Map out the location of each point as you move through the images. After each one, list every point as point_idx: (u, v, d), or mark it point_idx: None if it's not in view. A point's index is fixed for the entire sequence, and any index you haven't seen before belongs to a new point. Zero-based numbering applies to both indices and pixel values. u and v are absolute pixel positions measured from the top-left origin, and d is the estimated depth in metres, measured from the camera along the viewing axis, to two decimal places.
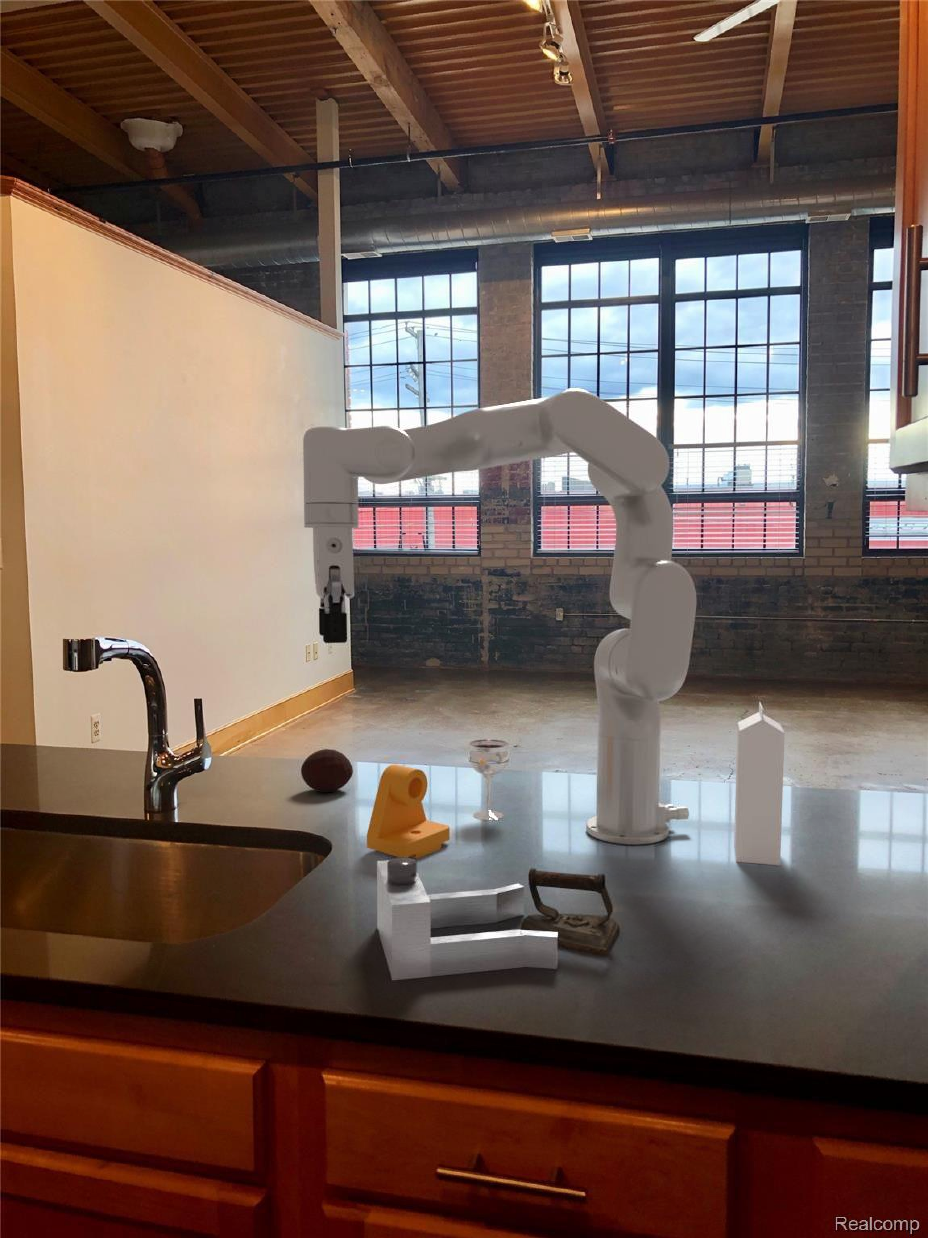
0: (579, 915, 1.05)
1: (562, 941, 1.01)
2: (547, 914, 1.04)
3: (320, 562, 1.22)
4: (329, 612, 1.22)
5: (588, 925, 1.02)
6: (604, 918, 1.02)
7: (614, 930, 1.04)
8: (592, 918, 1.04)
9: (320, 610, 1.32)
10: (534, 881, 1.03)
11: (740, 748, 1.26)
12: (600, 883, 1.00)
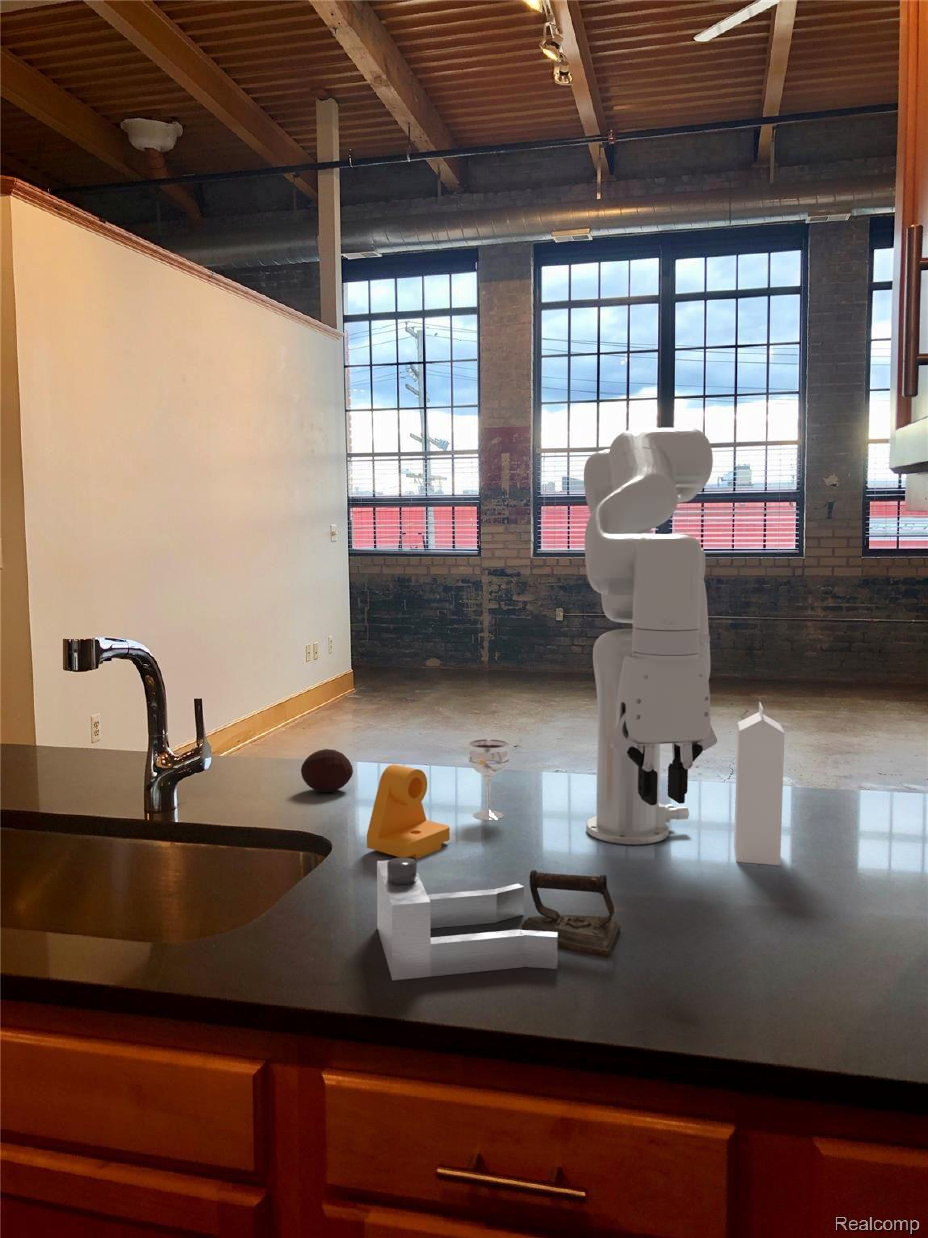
0: (580, 916, 1.05)
1: (564, 942, 1.01)
2: (548, 916, 1.03)
3: None
4: None
5: (589, 927, 1.02)
6: (606, 919, 1.02)
7: (615, 930, 1.03)
8: (593, 919, 1.04)
9: (656, 773, 1.03)
10: (535, 883, 1.03)
11: (740, 748, 1.26)
12: (602, 884, 1.00)
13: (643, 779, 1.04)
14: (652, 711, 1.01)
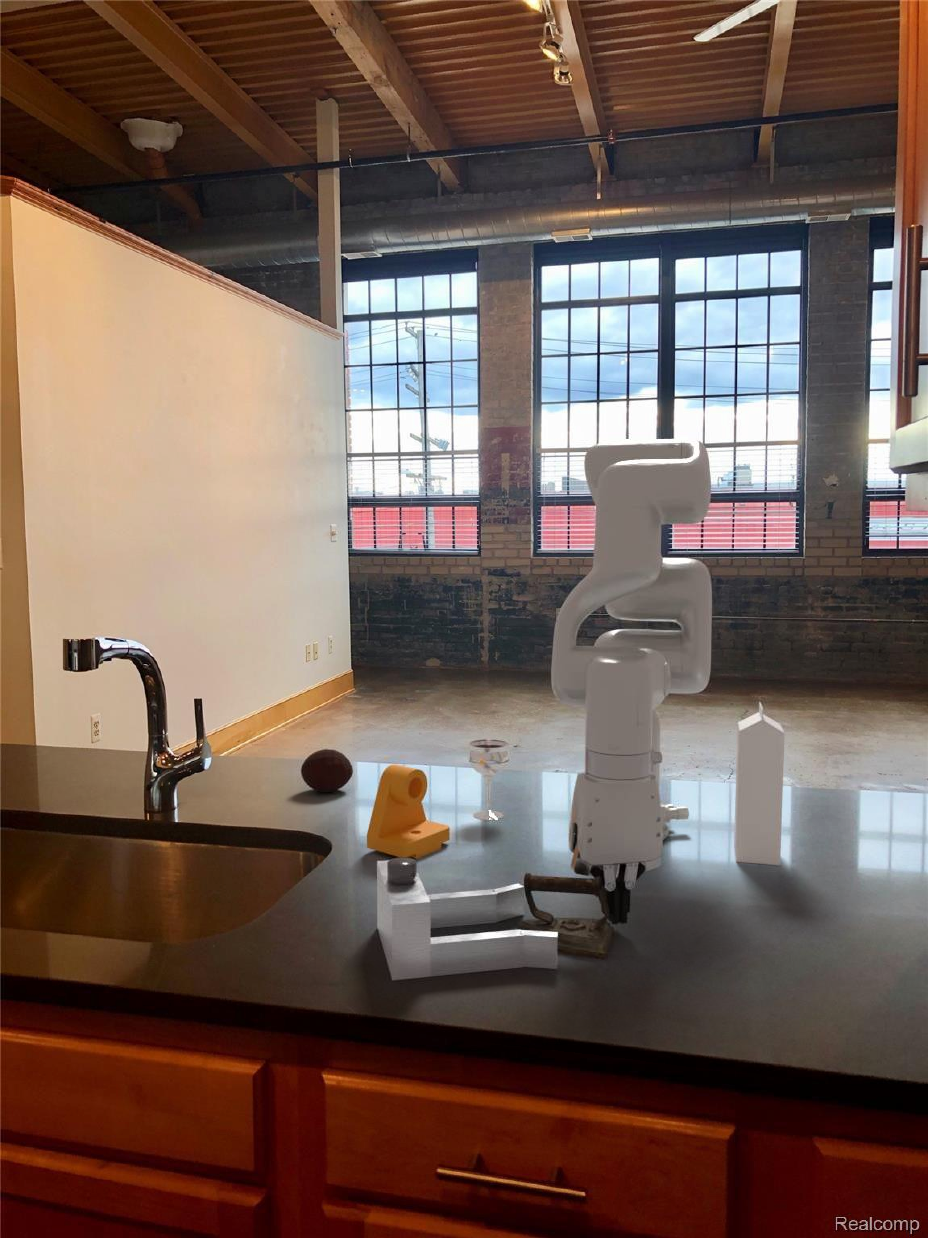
0: (573, 919, 1.04)
1: (559, 945, 1.00)
2: (543, 919, 1.02)
3: (662, 819, 1.03)
4: None
5: (584, 929, 1.02)
6: (601, 921, 1.01)
7: (610, 932, 1.03)
8: (587, 921, 1.03)
9: (619, 893, 1.03)
10: (530, 886, 1.02)
11: (740, 748, 1.26)
12: (598, 886, 1.00)
13: (606, 898, 1.04)
14: (604, 834, 1.01)
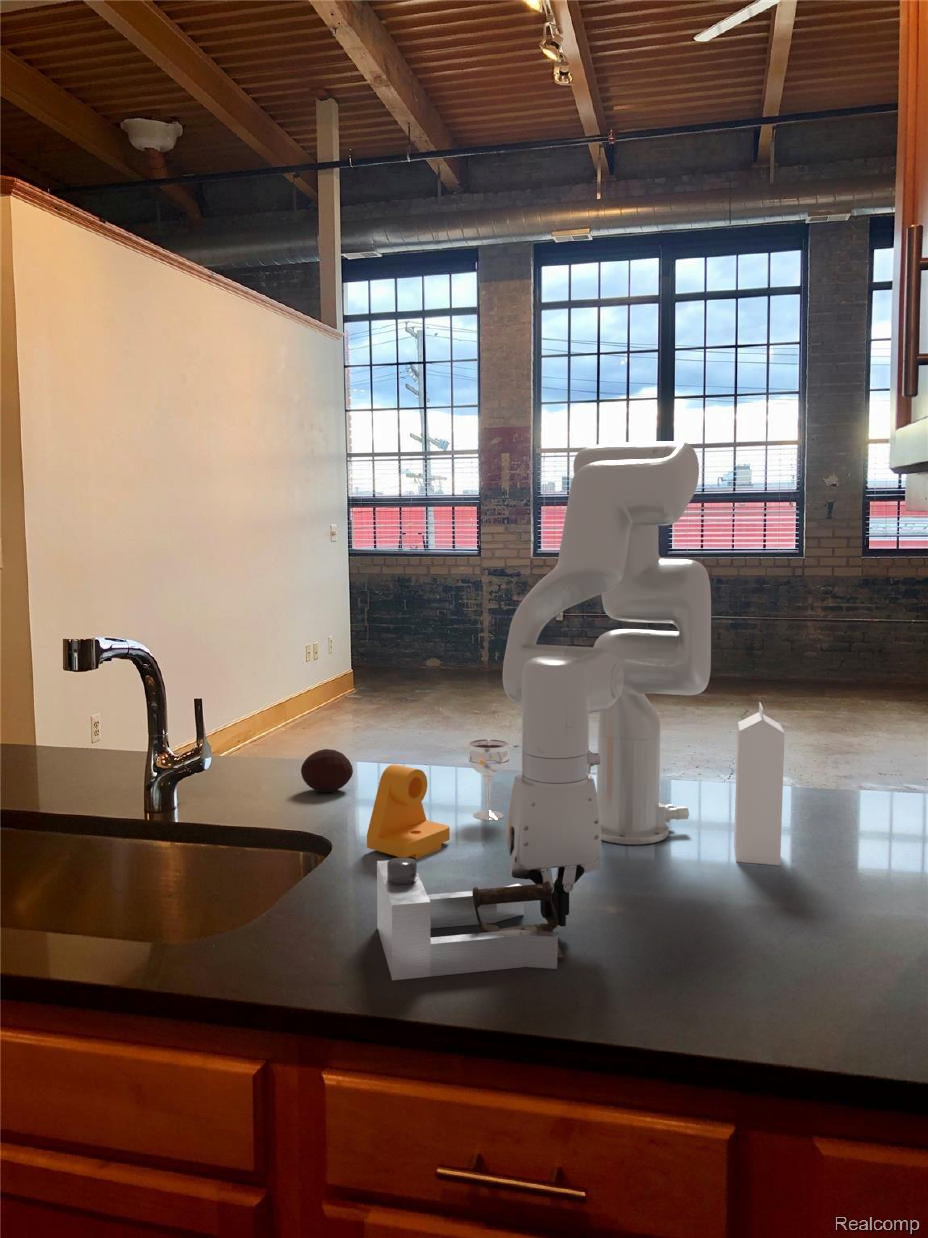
0: (517, 927, 1.03)
1: None
2: None
3: (600, 821, 1.02)
4: None
5: None
6: (550, 925, 1.01)
7: None
8: (531, 928, 1.02)
9: (557, 896, 1.02)
10: (480, 900, 0.98)
11: (740, 748, 1.26)
12: (550, 890, 0.99)
13: (544, 901, 1.03)
14: (540, 838, 1.00)
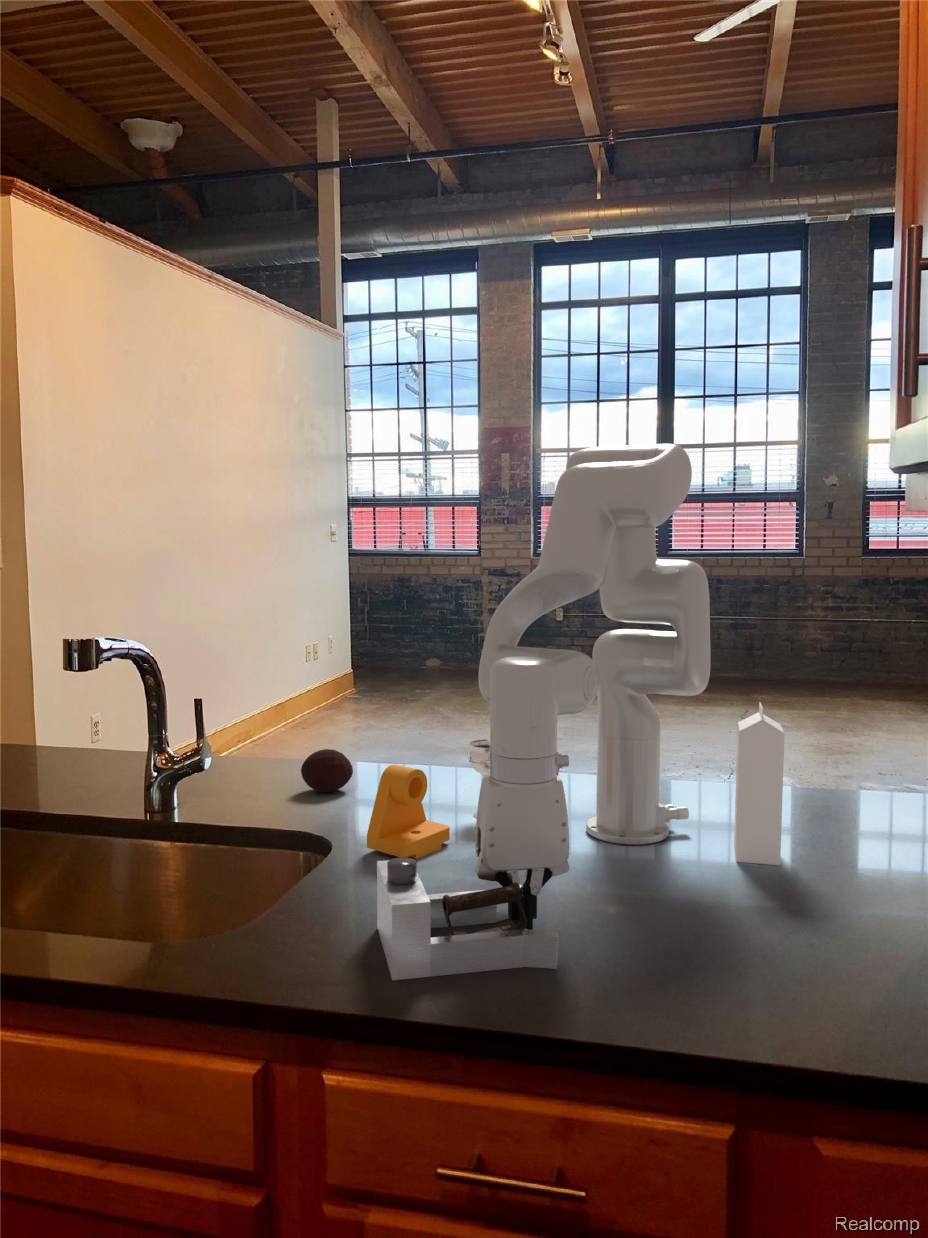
0: (482, 931, 1.02)
1: None
2: None
3: None
4: None
5: None
6: (518, 926, 1.00)
7: None
8: None
9: (524, 899, 1.01)
10: (453, 908, 0.97)
11: (740, 748, 1.26)
12: (520, 892, 0.99)
13: (511, 904, 1.02)
14: (506, 839, 0.99)
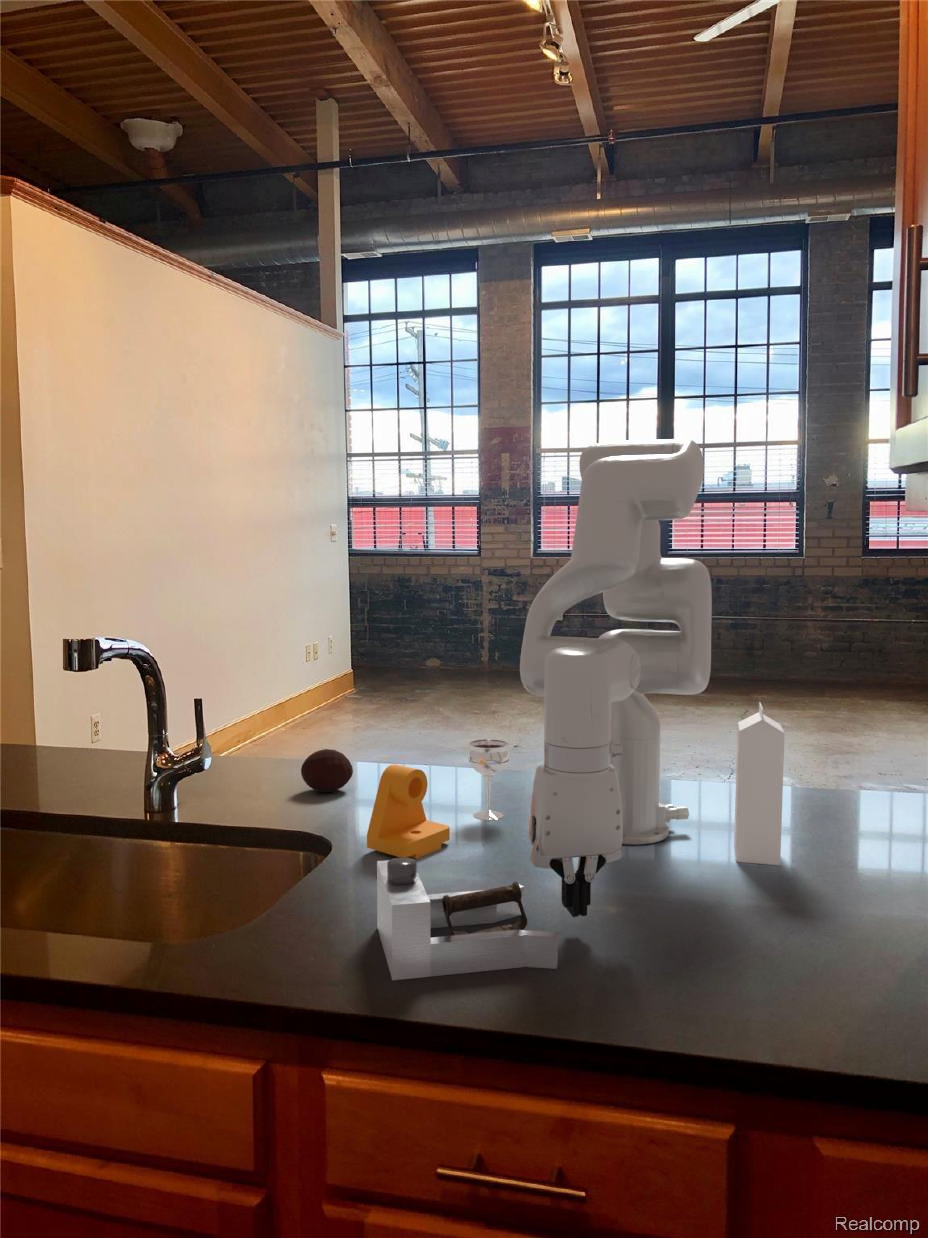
0: (483, 931, 1.02)
1: None
2: None
3: (621, 811, 1.02)
4: None
5: None
6: (518, 926, 1.00)
7: None
8: (498, 930, 1.02)
9: (578, 885, 1.03)
10: (453, 908, 0.97)
11: (740, 748, 1.26)
12: (520, 891, 0.99)
13: (565, 891, 1.03)
14: (562, 827, 1.01)
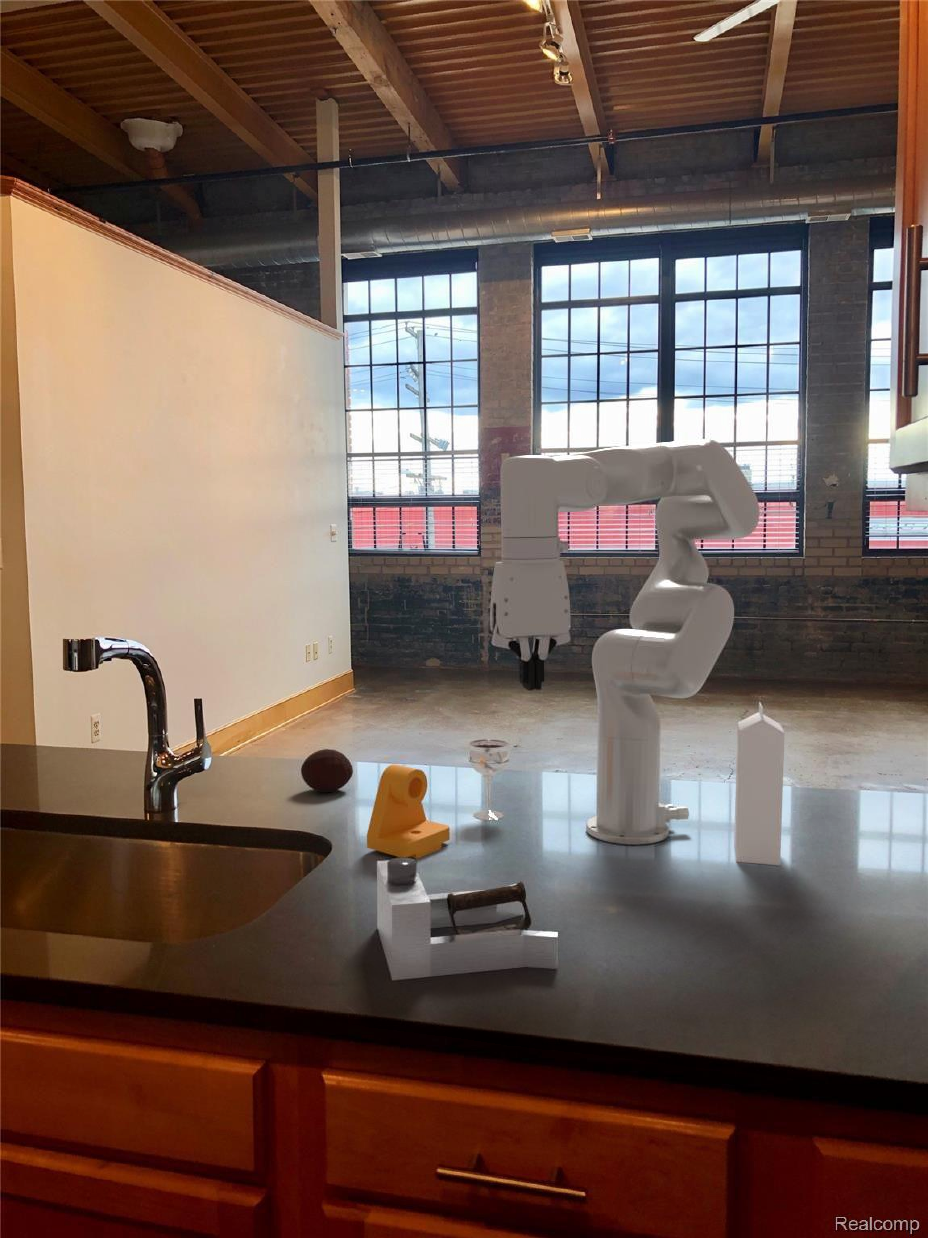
0: (487, 930, 1.02)
1: None
2: None
3: None
4: None
5: None
6: (522, 926, 1.00)
7: None
8: (502, 930, 1.02)
9: (533, 662, 1.19)
10: (457, 906, 0.97)
11: (740, 748, 1.26)
12: (524, 891, 0.99)
13: (522, 668, 1.20)
14: (518, 608, 1.17)
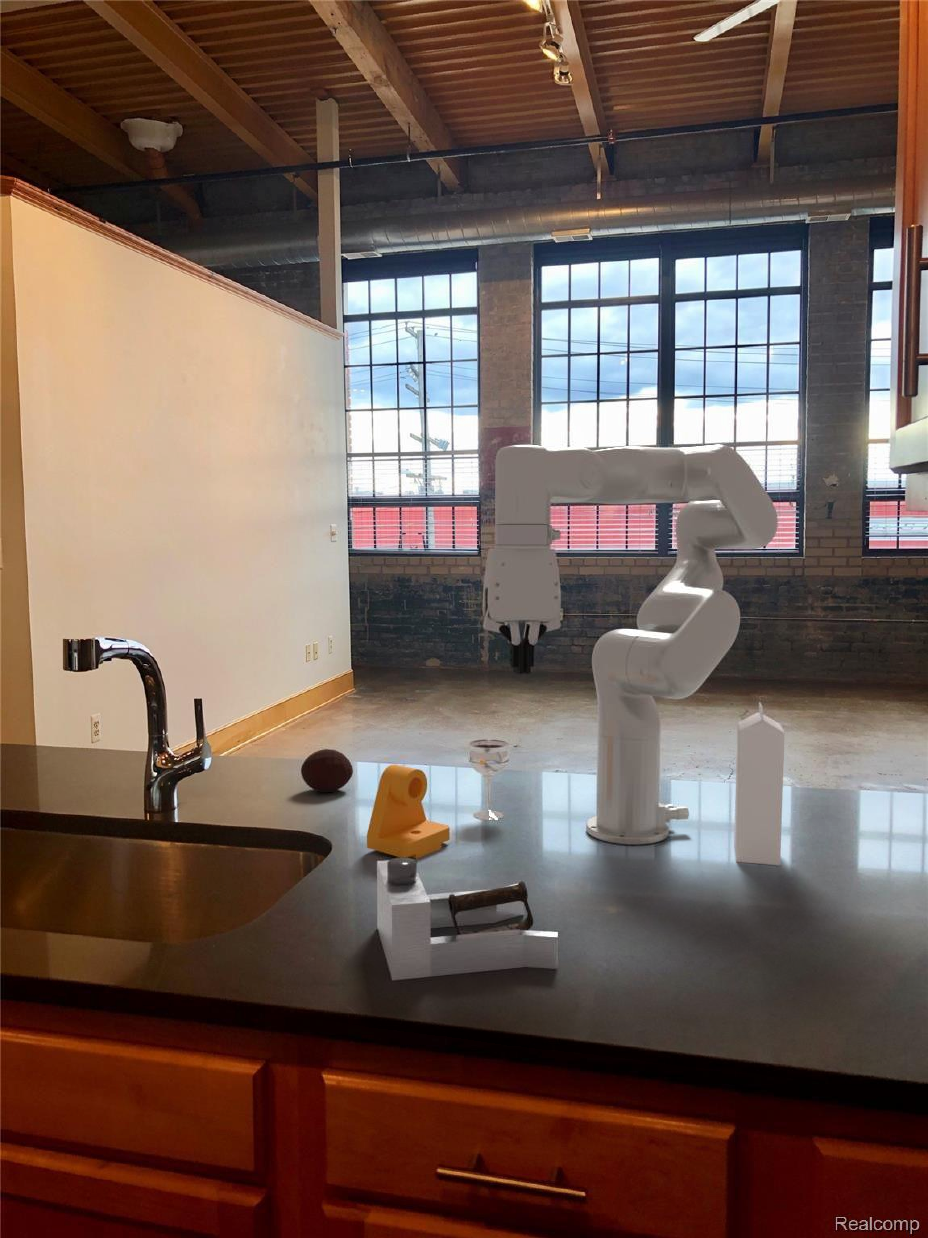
0: (489, 930, 1.02)
1: None
2: None
3: (559, 584, 1.22)
4: None
5: None
6: (525, 925, 1.01)
7: None
8: (504, 929, 1.02)
9: (523, 647, 1.23)
10: (458, 907, 0.97)
11: (740, 748, 1.26)
12: (526, 891, 0.99)
13: (513, 652, 1.23)
14: (509, 593, 1.21)
